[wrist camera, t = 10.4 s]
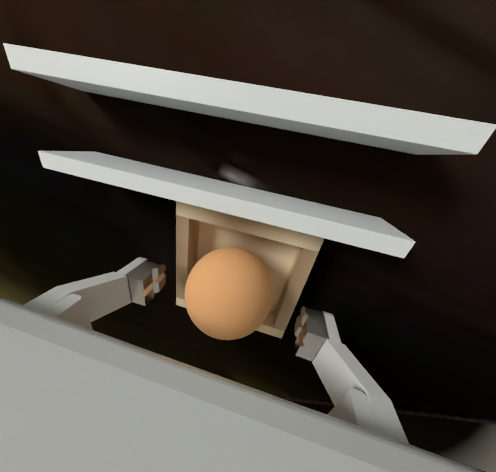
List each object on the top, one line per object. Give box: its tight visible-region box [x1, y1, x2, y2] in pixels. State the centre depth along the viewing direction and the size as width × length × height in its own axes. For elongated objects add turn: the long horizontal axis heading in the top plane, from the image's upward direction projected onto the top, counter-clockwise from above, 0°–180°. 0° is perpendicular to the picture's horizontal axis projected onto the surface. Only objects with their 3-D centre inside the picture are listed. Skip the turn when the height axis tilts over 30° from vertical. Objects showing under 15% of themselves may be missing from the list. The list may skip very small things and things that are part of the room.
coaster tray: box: [176, 201, 324, 338], centre depth 12 cm, size 8×8×2 cm
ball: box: [185, 247, 274, 340], centre depth 10 cm, size 5×5×5 cm
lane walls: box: [3, 43, 496, 258], centre depth 9 cm, size 18×5×3 cm, turn 79°
